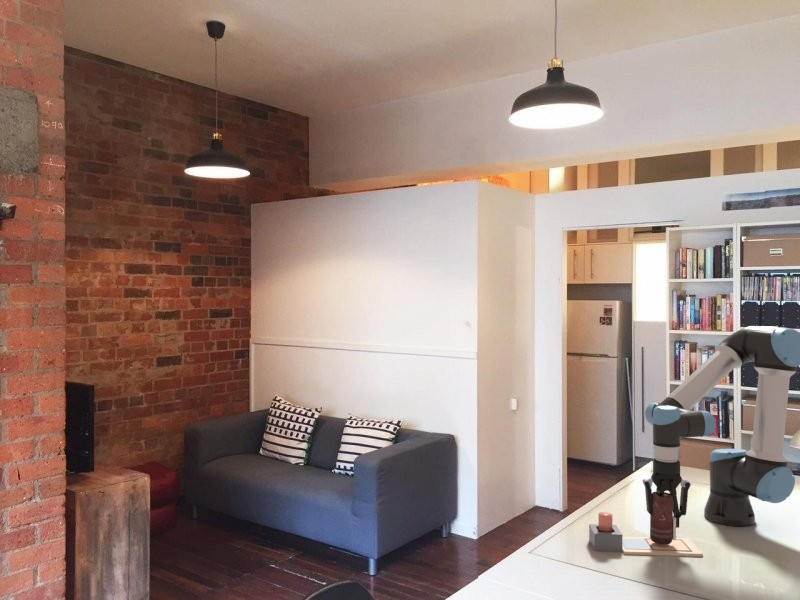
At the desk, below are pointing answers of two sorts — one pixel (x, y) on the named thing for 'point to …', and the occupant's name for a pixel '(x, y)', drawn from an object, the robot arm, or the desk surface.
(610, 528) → the button
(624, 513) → the desk surface
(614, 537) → the button housing
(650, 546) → the board
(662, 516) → the can
